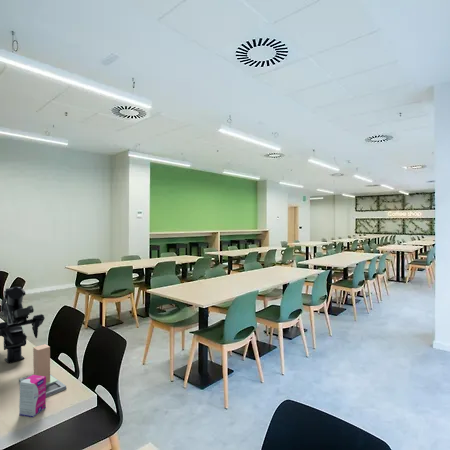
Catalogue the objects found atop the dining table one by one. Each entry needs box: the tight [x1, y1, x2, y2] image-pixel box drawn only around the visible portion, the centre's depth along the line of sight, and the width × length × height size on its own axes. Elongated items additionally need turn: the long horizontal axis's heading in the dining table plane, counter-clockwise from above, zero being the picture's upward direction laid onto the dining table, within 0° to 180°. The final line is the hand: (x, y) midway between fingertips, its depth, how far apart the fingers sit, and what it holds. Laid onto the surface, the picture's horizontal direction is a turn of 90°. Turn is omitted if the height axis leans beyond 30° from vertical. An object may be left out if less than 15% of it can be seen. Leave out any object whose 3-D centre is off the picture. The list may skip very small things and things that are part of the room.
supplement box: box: [18, 374, 47, 418], centre depth 109 cm, size 6×6×12 cm
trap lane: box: [18, 373, 67, 398], centre depth 127 cm, size 20×10×1 cm, turn 50°
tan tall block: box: [32, 343, 51, 383], centre depth 127 cm, size 4×4×14 cm
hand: (25, 340), depth 139 cm, fingers open, 9 cm apart
